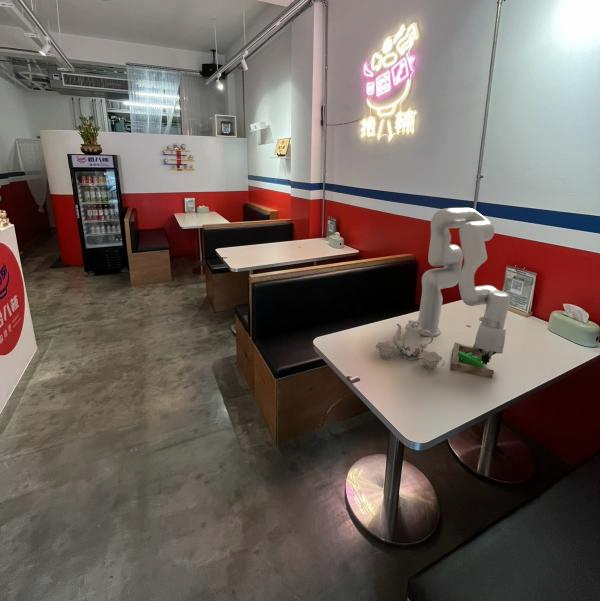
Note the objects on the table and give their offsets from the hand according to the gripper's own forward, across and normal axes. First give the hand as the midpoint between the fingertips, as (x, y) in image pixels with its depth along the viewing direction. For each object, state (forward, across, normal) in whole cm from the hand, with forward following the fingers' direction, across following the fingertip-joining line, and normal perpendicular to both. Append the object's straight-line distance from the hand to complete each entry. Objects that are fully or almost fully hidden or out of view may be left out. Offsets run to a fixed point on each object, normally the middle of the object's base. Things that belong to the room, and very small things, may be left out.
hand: (484, 363), depth 150 cm
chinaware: (+2, -29, -8) cm, 30 cm away
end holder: (+1, -5, 0) cm, 5 cm away
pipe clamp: (+1, -4, -3) cm, 5 cm away
